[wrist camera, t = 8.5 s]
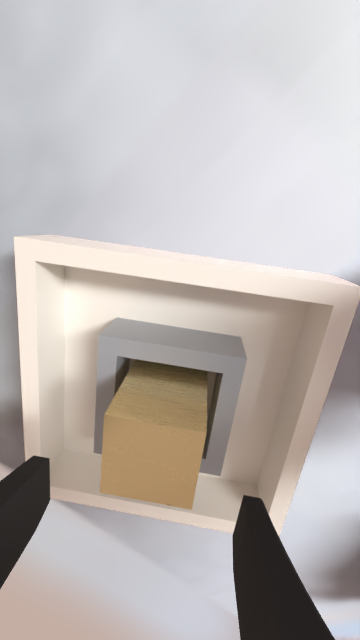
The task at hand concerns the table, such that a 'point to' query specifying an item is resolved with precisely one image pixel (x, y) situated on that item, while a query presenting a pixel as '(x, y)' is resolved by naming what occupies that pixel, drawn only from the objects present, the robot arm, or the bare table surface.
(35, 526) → the robot arm
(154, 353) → the walled box
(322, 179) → the table surface
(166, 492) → the wooden plug
